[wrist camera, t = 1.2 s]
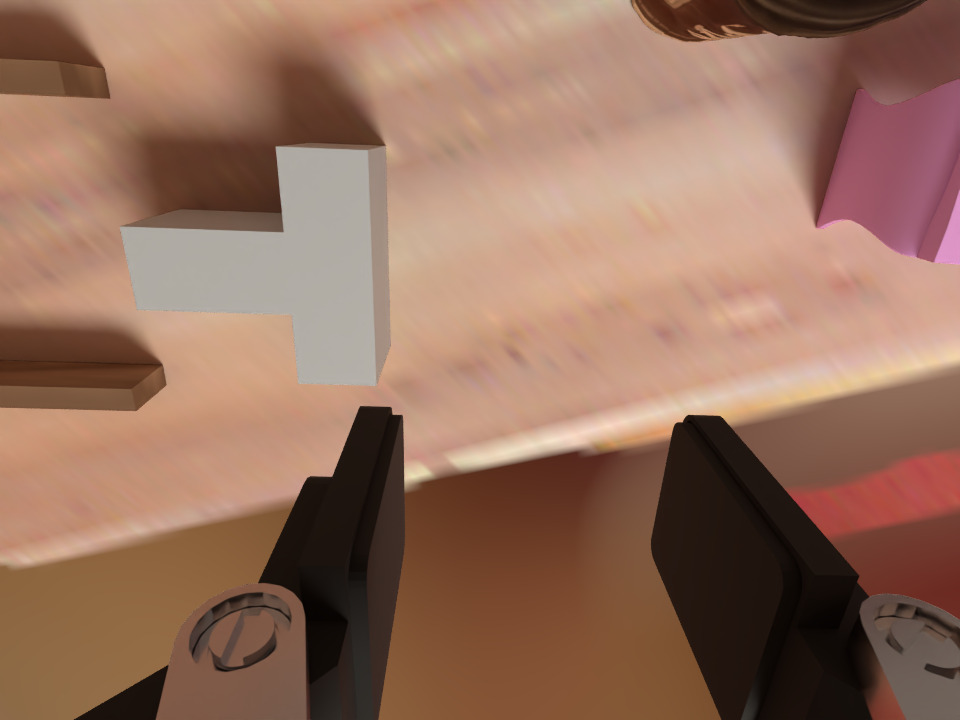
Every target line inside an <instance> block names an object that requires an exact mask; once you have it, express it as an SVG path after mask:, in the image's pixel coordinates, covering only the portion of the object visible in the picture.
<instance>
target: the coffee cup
mask: <svg viewBox="0 0 960 720" xmlns="http://www.w3.org/2000/svg"><path fill="white" fill-rule="evenodd" d="M925 1H927V0H632V4H633V8H634V10H635V11H636V12H637V13H638V15H639V16H640V18H641V20H642V21H643V22H644V24H645V25H646V26H648V27H649V28H650V29H651V30H653V31H655V32H656V33H658V34H661V35H664V36H667V37H670V38H673V39H676V40H679V41H682V42H703V41H710V40H720V39H724V38H736V37H742V36H749V35H758V34H764V33H773V34H776V35H778V36H781V35H787V36H798V37H806V38H829V37H836V36H843V35H847V34H851V33H855V32H859V31H863V30H867V29H869V28H871V27H874V26H876V25H878V24H880V23H882V22H886V21H889V20H892V19H895V18H898V17H900V16H902V15H904V14H906V13H908V12H909V11H911V10H913V9H914V8H916V7H918V6H920V5H921V4H922V3H924V2H925Z"/></svg>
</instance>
